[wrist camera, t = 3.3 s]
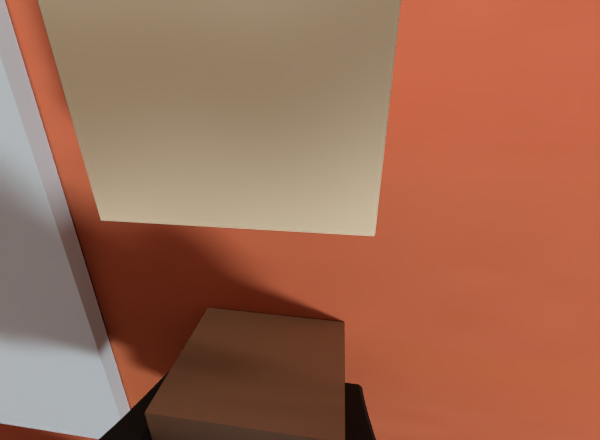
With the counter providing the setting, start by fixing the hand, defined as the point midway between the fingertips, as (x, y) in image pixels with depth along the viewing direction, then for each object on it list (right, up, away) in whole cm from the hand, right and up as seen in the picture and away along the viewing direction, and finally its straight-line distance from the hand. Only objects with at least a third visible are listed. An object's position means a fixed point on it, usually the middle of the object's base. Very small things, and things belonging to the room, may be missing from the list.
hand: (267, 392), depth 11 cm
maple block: (0, +10, -3) cm, 10 cm away
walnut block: (0, 0, +1) cm, 1 cm away
